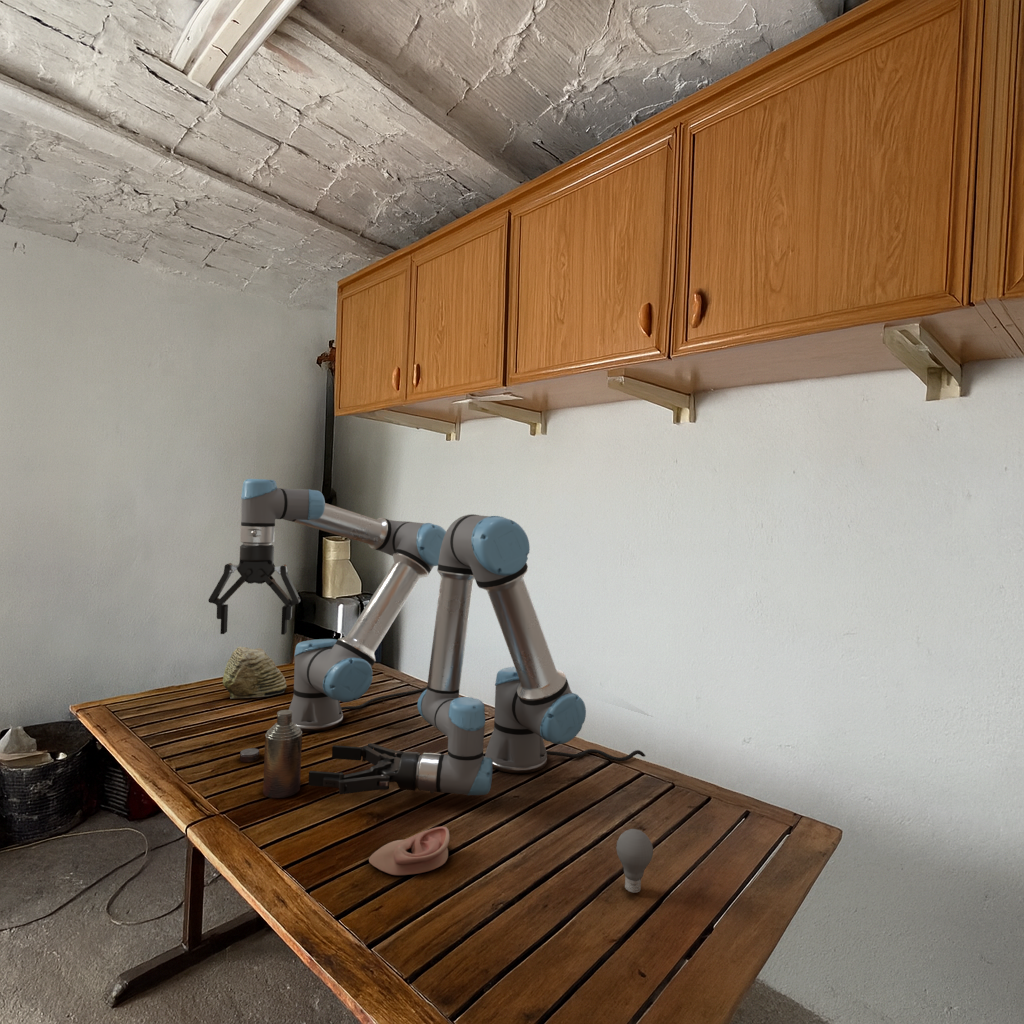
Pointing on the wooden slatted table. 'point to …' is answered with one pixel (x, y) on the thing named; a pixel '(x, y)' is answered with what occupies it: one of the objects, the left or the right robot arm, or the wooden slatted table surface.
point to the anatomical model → (413, 853)
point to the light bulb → (634, 857)
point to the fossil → (252, 674)
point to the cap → (249, 755)
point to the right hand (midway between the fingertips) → (321, 764)
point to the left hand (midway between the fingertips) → (254, 633)
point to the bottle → (282, 757)
